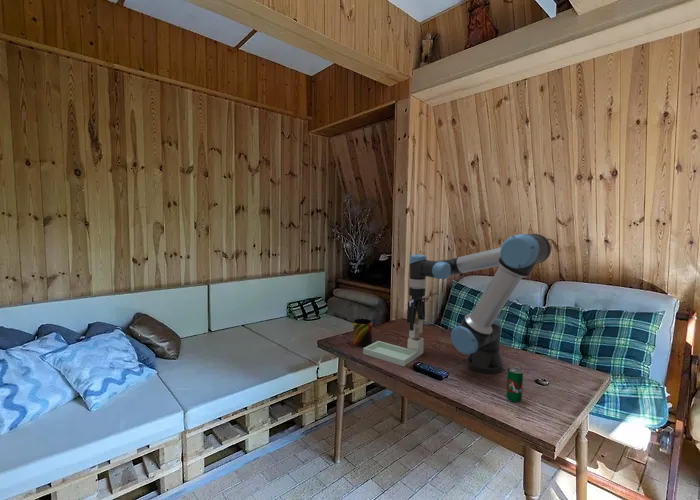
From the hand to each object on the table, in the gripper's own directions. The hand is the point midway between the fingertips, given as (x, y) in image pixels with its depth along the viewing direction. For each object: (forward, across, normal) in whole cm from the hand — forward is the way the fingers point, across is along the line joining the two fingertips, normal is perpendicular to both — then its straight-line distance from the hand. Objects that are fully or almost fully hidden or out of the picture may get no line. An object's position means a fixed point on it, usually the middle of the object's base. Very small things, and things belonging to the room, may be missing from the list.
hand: (415, 334), depth 163 cm
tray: (+10, +10, -8) cm, 16 cm away
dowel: (+9, 0, 0) cm, 9 cm away
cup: (+10, 0, 0) cm, 10 cm away
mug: (+10, +4, -30) cm, 32 cm away
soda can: (+10, +14, +47) cm, 50 cm away
